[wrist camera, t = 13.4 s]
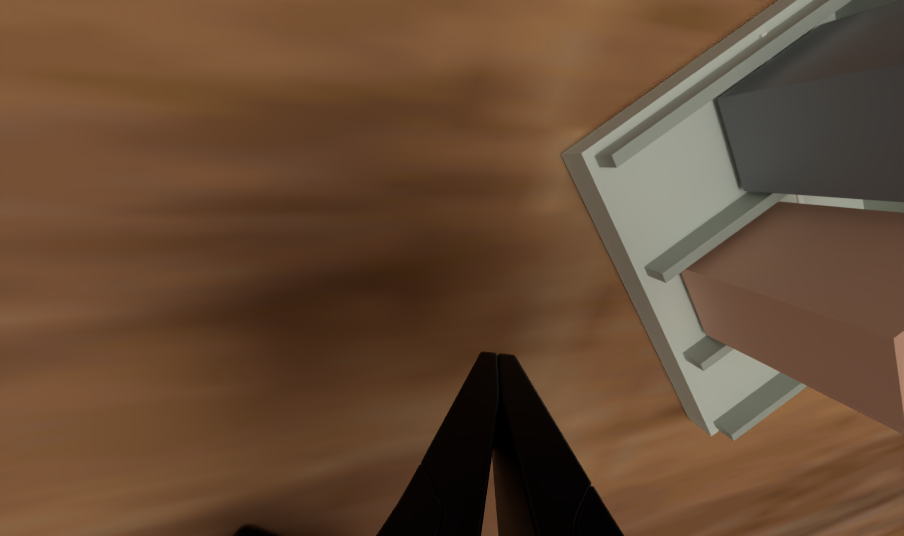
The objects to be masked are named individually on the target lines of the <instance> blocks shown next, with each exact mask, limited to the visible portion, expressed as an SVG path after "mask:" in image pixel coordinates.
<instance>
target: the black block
mask: <svg viewBox="0 0 904 536" xmlns="http://www.w3.org/2000/svg"><path fill="white" fill-rule="evenodd" d="M717 100H718V104H719V107H720V111H721V114H722V118H723V121H724V125H725V128H726V132H727V135H728V139H729V142H730V145H731V149H732V152H733V156H734V159H735V163H736V166H737V170H738V173H739V177H740V180H741V184H742V187H743V190H744V191H752V192H765V193H779V194H793V195H807V196H821V197H835V198H849V199H862V200H876V201H890V202H904V0H899V1H895V2H892V3H889V4H886V5H882V6H879V7H876V8H873V9H869V10H866V11H863V12H860V13H856V14H853V15H850V16H847V17H843V18H840V19H837V20H834V21H830V22H827V23H824V24H821V25H819V26H818V27H816V28H815V29H814V30H812V31H811V32H809V33H808V34H807V35H805V36H804V37H802V38H801V39H800V40H798V41H797V42H795V43H794V44H793V45H791V46H790V47H788V48H787V49H786V50H784V51H783V52H781V53H780V54H779V55H777V56H776V57H774V58H773V59H772V60H770V61H769V62H767V63H766V64H765V65H763V66H762V67H760V68H759V69H758V70H756V71H755V72H753V73H752V74H751V75H749V76H748V77H746V78H745V79H744V80H742V81H741V82H739V83H738V84H737V85H735V86H734V87H732V88H731V89H730V90H728V91H727V92H725V93H724V94H723V95H721V96H720V97H718V98H717Z"/></svg>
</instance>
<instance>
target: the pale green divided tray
mask: <svg viewBox="0 0 904 536" xmlns="http://www.w3.org/2000/svg"><path fill="white" fill-rule="evenodd" d="M895 1H899V0H778V1H776V2H775V3H774V4H772V5H771V6H769V7H768V8H766V9H765V10H764V11H762V12H761V13H759V14H758V15H757V16H755V17H754V18H752V19H751V20H750V21H748V22H747V23H745V24H744V25H742V26H741V27H740V28H738V29H737V30H735V31H734V32H733V33H731V34H730V35H728V36H727V37H726V38H724V39H723V40H721V41H720V42H718V43H717V44H716V45H714V46H713V47H711V48H710V49H709V50H707V51H706V52H704V53H703V54H702V55H700V56H699V57H697V58H696V59H694V60H693V61H692V62H690V63H689V64H687V65H686V66H685V67H683V68H682V69H680V70H679V71H678V72H676V73H675V74H673V75H672V76H670V77H669V78H668V79H666V80H665V81H663V82H662V83H661V84H659V85H658V86H656V87H655V88H654V89H652V90H651V91H649V92H648V93H647V94H645V95H644V96H642V97H641V98H639V99H638V100H637V101H635V102H634V103H632V104H631V105H630V106H628V107H627V108H625V109H624V110H623V111H621V112H620V113H618V114H617V115H615V116H614V117H613V118H611V119H610V120H608V121H607V122H606V123H604V124H603V125H601V126H600V127H599V128H597V129H596V130H594V131H593V132H591V133H590V134H589V135H587V136H586V137H584V138H583V139H582V140H580V141H579V142H577V143H576V144H575V145H573V146H572V147H570V148H569V149H567V150H566V151H565V152H563V153H562V154H561V156H562V158H563V160H564V162H565V164H566V166H567V169H568V171H569V173H570V175H571V177H572V179H573V181H574V183H575V185H576V187H577V189H578V191H579V193H580V195H581V197H582V200H583V202H584V204H585V206H586V208H587V210H588V212H589V214H590V216H591V218H592V220H593V222H594V224H595V226H596V228H597V230H598V233H599V235H600V237H601V239H602V241H603V243H604V245H605V247H606V249H607V251H608V253H609V255H610V257H611V259H612V261H613V264H614V266H615V268H616V270H617V272H618V274H619V276H620V278H621V280H622V282H623V284H624V286H625V288H626V290H627V292H628V294H629V297H630V299H631V301H632V303H633V305H634V307H635V309H636V311H637V313H638V315H639V317H640V319H641V321H642V323H643V325H644V328H645V330H646V332H647V334H648V336H649V338H650V340H651V342H652V344H653V346H654V348H655V350H656V352H657V354H658V356H659V358H660V361H661V363H662V365H663V367H664V369H665V371H666V373H667V375H668V377H669V379H670V381H671V383H672V385H673V387H674V389H675V392H676V394H677V396H678V398H679V400H680V402H681V404H682V406H683V408H684V410H685V412H686V414H687V416H688V418H689V419H690V420H692V421H693V422H694V423H695V424H697V425H698V426H699V427H701V428H702V429H703V430H704V431H706V432H707V433H708V434H709V435H711V436H712V435H714V434H715V433H717V432H718V431H719V430H720V431H721V432H722V433H724V434H725V435H726V436H728V437H729V438H730V439H732V440H733V441H734V440H736V439H737V438H738V437H740V436H741V435H742V434H744V433H745V432H746V431H748V430H749V429H750V428H752V427H753V426H754V425H756V424H757V423H758V422H760V421H761V420H763V419H764V418H765V417H767V416H768V415H769V414H771V413H772V412H773V411H775V410H776V409H777V408H779V407H780V406H781V405H783V404H784V403H785V402H787V401H788V400H789V399H791V398H792V397H793V396H795V395H796V394H797V393H799V392H800V391H801V390H803V389H804V388H806V387H807V385H805V384H803V383H801V382H799V381H797V380H795V379H793V378H791V377H789V376H787V375H785V374H783V373H781V372H779V371H777V370H775V369H773V368H771V367H769V366H767V365H765V364H763V363H761V362H759V361H757V360H755V359H753V358H751V357H749V356H747V355H745V354H743V353H741V352H739V351H737V350H735V349H733V348H731V347H729V346H727V345H725V344H723V343H721V342H719V341H717V340H715V339H713V338H711V337H710V336H708V335H706V333H705V331H704V328H703V326H702V323H701V321H700V318H699V316H698V313H697V311H696V308H695V306H694V303H693V301H692V298H691V296H690V293H689V291H688V288H687V286H686V283H685V281H684V279H683V276H682V274H681V272H682V271H683V270H685V269H686V268H688V267H689V266H690V265H692V264H693V263H694V262H696V261H697V260H699V259H700V258H701V257H703V256H704V255H705V254H707V253H708V252H710V251H711V250H712V249H714V248H715V247H716V246H718V245H719V244H721V243H722V242H723V241H725V240H726V239H727V238H729V237H730V236H732V235H733V234H734V233H736V232H737V231H738V230H740V229H741V228H743V227H744V226H745V225H747V224H748V223H750V222H751V221H752V220H754V219H755V218H756V217H758V216H759V215H761V214H762V213H763V212H765V211H766V210H767V209H769V208H770V207H772V206H773V205H774V204H776V203H777V202H778V201H780V202H791V203H802V204H813V205H824V206H835V207H846V208H857V209H868V210H879V211H889V212H900V213H904V202H890V201H876V200H862V199H849V198H835V197H821V196H807V195H793V194H779V193H765V192H752V191H744V190H743V187H742V184H741V180H740V177H739V173H738V170H737V166H736V163H735V159H734V156H733V152H732V149H731V145H730V142H729V139H728V135H727V132H726V128H725V125H724V121H723V118H722V114H721V111H720V107H719V104H718V100H717V98H718V97H720V96H721V95H723V94H724V93H725V92H727V91H728V90H730V89H731V88H732V87H734V86H735V85H737V84H738V83H739V82H741V81H742V80H744V79H745V78H746V77H748V76H749V75H751V74H752V73H753V72H755V71H756V70H758V69H759V68H760V67H762V66H763V65H765V64H766V63H767V62H769V61H770V60H772V59H773V58H774V57H776V56H777V55H779V54H780V53H781V52H783V51H784V50H786V49H787V48H788V47H790V46H791V45H793V44H794V43H795V42H797V41H798V40H800V39H801V38H802V37H804V36H805V35H807V34H808V33H809V32H811V31H812V30H814V29H815V28H816V27H818V26H819V25H821V24H824V23H827V22H830V21H834V20H837V19H840V18H843V17H847V16H850V15H853V14H856V13H860V12H863V11H866V10H869V9H873V8H876V7H879V6H882V5H886V4H889V3H892V2H895Z"/></svg>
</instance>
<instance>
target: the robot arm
mask: <svg viewBox="0 0 904 536" xmlns="http://www.w3.org/2000/svg"><path fill="white" fill-rule="evenodd" d="M491 458H492V461H493V473H494V486H495V498H496V510H497V522H498V535H499V536H624V535H623V533H622V531H621V530H620V528H619V527H618V525H617V524H616V522H615V520H614V519H613V517H612V516H611V514H610V512H609V511H608V509H607V508H606V506H605V505H604V503H603V501H602V499H601V498H600V496H599V494H598V493H597V491H596V489H595V488H594V487H593V486H591V481H590V480H589V478H588V476H587V475H586V473H585V471H584V470H583V468H582V466H581V465H580V463H579V461H578V460H577V458H576V456H575V455H574V453H573V451H572V450H571V448H570V446H569V445H568V443H567V441H566V440H565V438H564V436H563V435H562V433H561V431H560V430H559V428H558V426H557V425H556V423H555V421H554V420H553V418H552V416H551V415H550V413H549V411H548V410H547V408H546V406H545V405H544V403H543V401H542V400H541V398H540V396H539V395H538V393H537V391H536V390H535V388H534V386H533V385H532V383H531V381H530V380H529V378H528V376H527V375H526V373H525V371H524V370H523V368H522V366H521V365H520V363H519V361H518V360H517V358H516V357H515V356H514V355H511V354H498V356H497V354H496V353H492V352H481V353H480V354H479V356H478V358H477V360H476V362H475V363H474V365H473V367H472V369H471V371H470V373H469V375H468V376H467V378H466V380H465V382H464V384H463V386H462V388H461V389H460V391H459V393H458V395H457V397H456V399H455V400H454V402H453V404H452V406H451V408H450V410H449V412H448V413H447V415H446V417H445V419H444V421H443V423H442V424H441V426H440V428H439V430H438V432H437V434H436V436H435V437H434V439H433V441H432V443H431V445H430V447H429V448H428V450H427V452H426V454H425V456H424V458H423V460H422V461H421V465H419V467H418V468H417V470H416V472H415V474H414V476H413V478H412V479H411V481H410V483H409V485H408V486H407V488H406V490H405V492H404V493H403V495H402V497H401V498H400V500H399V502H398V504H397V505H396V507H395V508H394V510H393V511H392V513H391V514H390V516H389V517H388V519H387V520H386V522H385V523H384V525H383V526H382V528H381V529H380V531H379V532H378V534H377V535H376V536H481V532H482V524H483V517H484V510H485V502H486V495H487V487H488V480H489V473H490V465H491ZM590 486H591V487H590ZM234 536H270V535H268V534H265V533H262V532H259V531H256V530H254V529H251V528H243V529H241V530H239V531H238V532H237V533H236V534H235V535H234Z"/></svg>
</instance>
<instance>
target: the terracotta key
mask: <svg viewBox="0 0 904 536" xmlns="http://www.w3.org/2000/svg"><path fill="white" fill-rule="evenodd" d="M681 274H682V276H683V279H684V281H685V283H686V286H687V288H688V291H689V293H690V296H691V298H692V301H693V303H694V306H695V308H696V311H697V313H698V316H699V318H700V321H701V323H702V326H703V328H704V331H705V333H706V335H708V336H710V337H711V338H713V339H715V340H717V341H719V342H721V343H723V344H725V345H727V346H729V347H731V348H733V349H735V350H737V351H739V352H741V353H743V354H745V355H747V356H749V357H751V358H753V359H755V360H757V361H759V362H761V363H763V364H765V365H767V366H769V367H771V368H773V369H775V370H777V371H779V372H781V373H783V374H785V375H787V376H789V377H791V378H793V379H795V380H797V381H799V382H801V383H803V384H805V385H807V386H809V387H811V388H813V389H815V390H817V391H818V392H820V393H822V394H824V395H826V396H828V397H830V398H832V399H834V400H836V401H838V402H840V403H842V404H844V405H846V406H848V407H850V408H852V409H854V410H856V411H858V412H860V413H862V414H864V415H866V416H868V417H870V418H872V419H874V420H876V421H878V422H880V423H882V424H884V425H886V426H888V427H890V428H892V429H894V430H896V431H898V432H900V433H902V434H904V213H900V212H889V211H879V210H868V209H857V208H846V207H835V206H824V205H813V204H802V203H791V202H780V201H778V202H777V203H776V204H774V205H773V206H772V207H770V208H769V209H767V210H766V211H765V212H763V213H762V214H761V215H759V216H758V217H756V218H755V219H754V220H752V221H751V222H750V223H748V224H747V225H745V226H744V227H743V228H741V229H740V230H738V231H737V232H736V233H734V234H733V235H732V236H730V237H729V238H727V239H726V240H725V241H723V242H722V243H721V244H719V245H718V246H716V247H715V248H714V249H712V250H711V251H710V252H708V253H707V254H705V255H704V256H703V257H701V258H700V259H699V260H697V261H696V262H694V263H693V264H692V265H690V266H689V267H688V268H686V269H685V270H683V271H682V272H681Z"/></svg>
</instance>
